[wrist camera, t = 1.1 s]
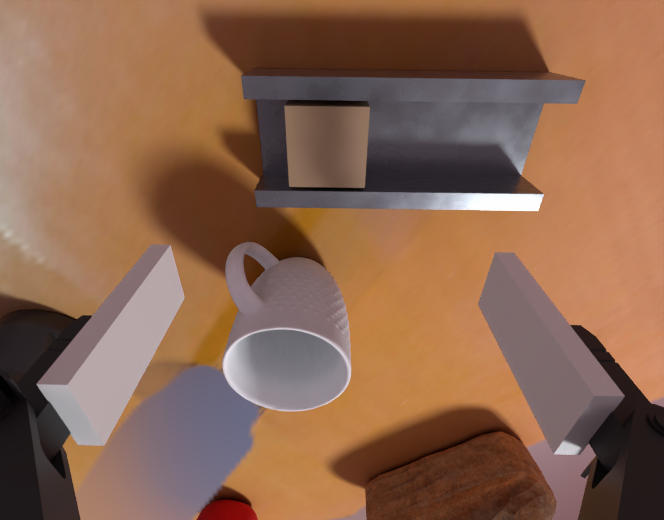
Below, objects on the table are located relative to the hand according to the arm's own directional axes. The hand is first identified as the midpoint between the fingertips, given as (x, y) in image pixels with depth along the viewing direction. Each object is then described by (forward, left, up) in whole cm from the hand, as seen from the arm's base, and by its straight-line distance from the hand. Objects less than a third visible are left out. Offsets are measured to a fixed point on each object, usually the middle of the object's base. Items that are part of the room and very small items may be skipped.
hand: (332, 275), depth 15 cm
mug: (-4, -15, -21) cm, 26 cm away
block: (-1, +1, -20) cm, 20 cm away
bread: (+20, -57, -21) cm, 64 cm away
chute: (+5, +1, -21) cm, 22 cm away
